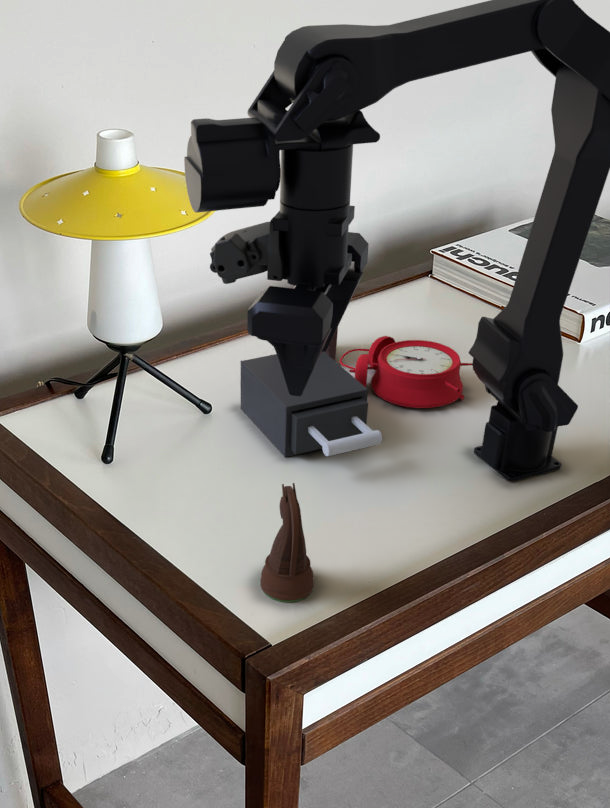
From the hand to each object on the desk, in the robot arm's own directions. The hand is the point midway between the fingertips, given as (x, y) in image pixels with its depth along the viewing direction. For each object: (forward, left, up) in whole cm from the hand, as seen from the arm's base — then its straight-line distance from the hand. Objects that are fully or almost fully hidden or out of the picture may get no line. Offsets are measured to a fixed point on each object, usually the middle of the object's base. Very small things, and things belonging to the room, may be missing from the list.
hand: (308, 372), depth 91 cm
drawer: (-6, -8, -12) cm, 16 cm away
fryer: (-6, -13, -13) cm, 19 cm away
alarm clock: (-21, -16, -14) cm, 29 cm away
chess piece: (+8, +12, -14) cm, 20 cm away
